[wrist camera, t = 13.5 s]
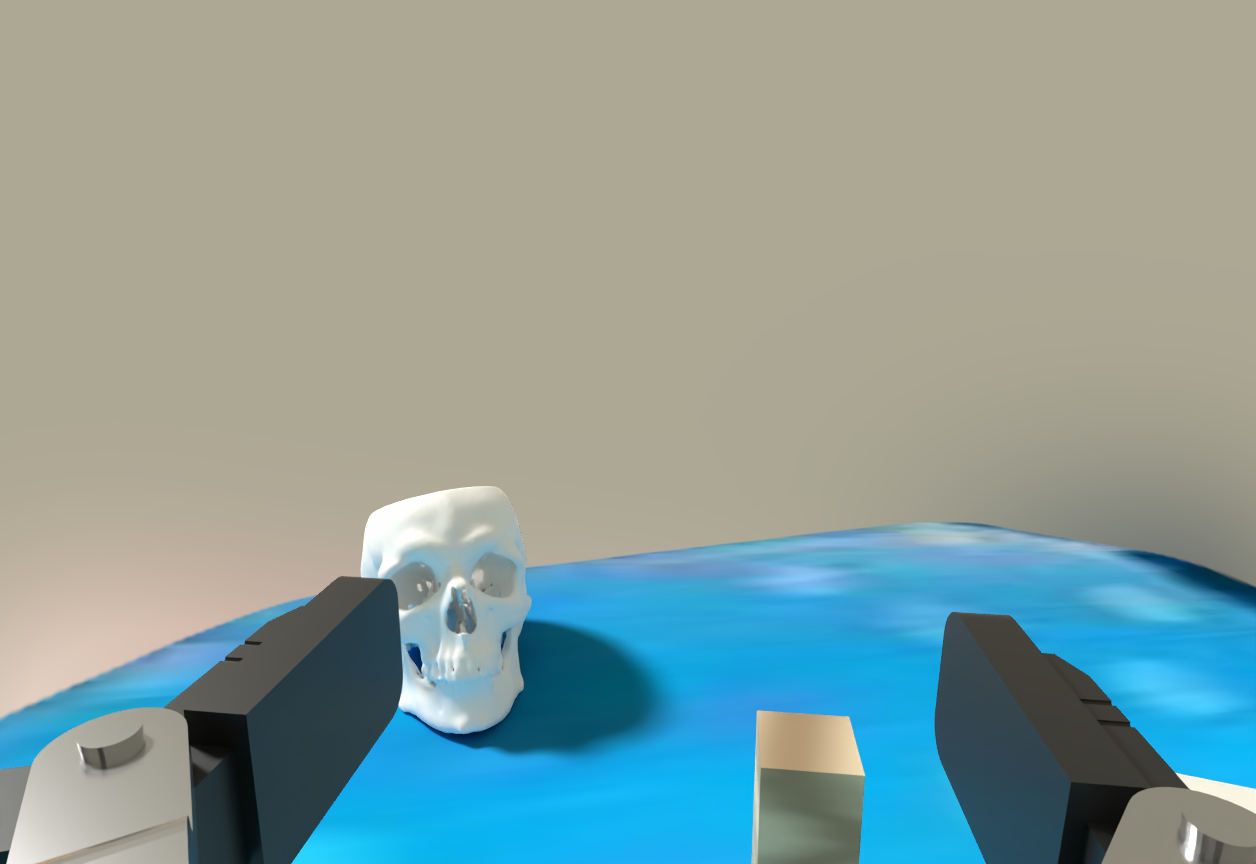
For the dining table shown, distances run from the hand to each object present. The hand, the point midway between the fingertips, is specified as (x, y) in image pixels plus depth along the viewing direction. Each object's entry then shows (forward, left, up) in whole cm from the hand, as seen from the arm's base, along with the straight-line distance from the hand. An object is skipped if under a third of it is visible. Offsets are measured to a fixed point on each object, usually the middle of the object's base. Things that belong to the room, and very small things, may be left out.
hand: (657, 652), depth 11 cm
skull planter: (-32, +39, -28) cm, 58 cm away
